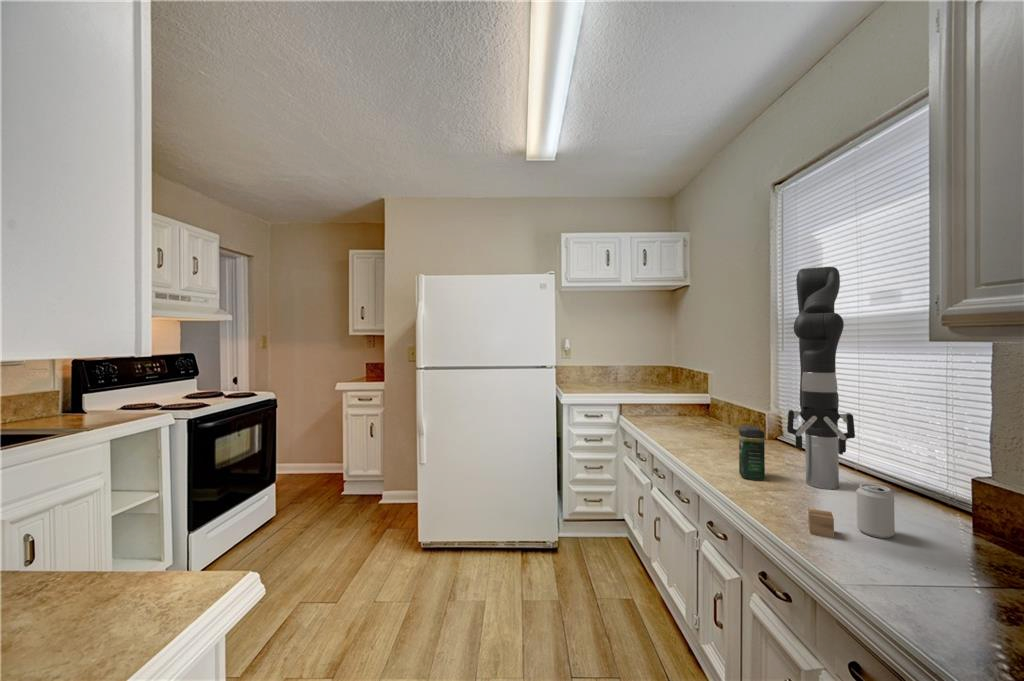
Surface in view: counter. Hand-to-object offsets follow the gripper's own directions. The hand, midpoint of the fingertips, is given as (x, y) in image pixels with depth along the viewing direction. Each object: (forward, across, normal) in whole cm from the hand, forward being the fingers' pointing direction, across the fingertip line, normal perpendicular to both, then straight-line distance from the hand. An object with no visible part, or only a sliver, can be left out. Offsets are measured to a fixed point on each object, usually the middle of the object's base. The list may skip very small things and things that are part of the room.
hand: (820, 451), depth 113 cm
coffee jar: (+20, +17, -43) cm, 51 cm away
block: (+21, 0, 0) cm, 21 cm away
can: (+21, -12, -6) cm, 25 cm away
